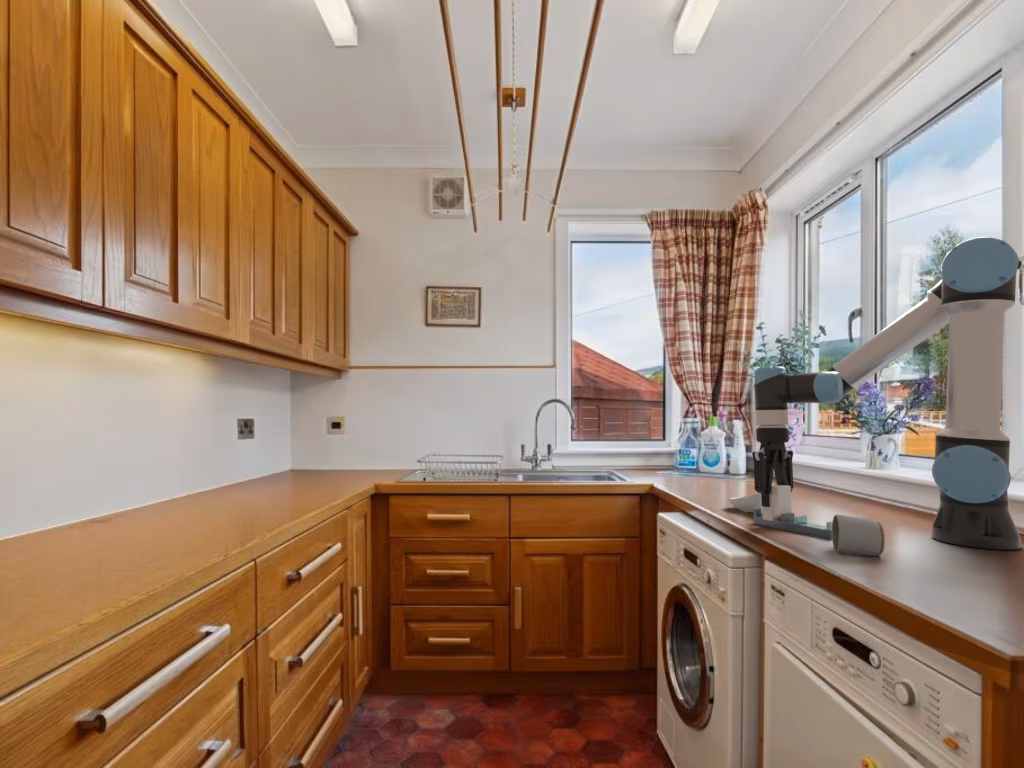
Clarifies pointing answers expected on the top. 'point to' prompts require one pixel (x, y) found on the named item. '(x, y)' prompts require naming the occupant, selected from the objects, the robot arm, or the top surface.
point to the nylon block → (781, 499)
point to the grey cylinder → (857, 536)
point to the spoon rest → (747, 503)
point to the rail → (794, 524)
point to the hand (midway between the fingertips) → (775, 518)
